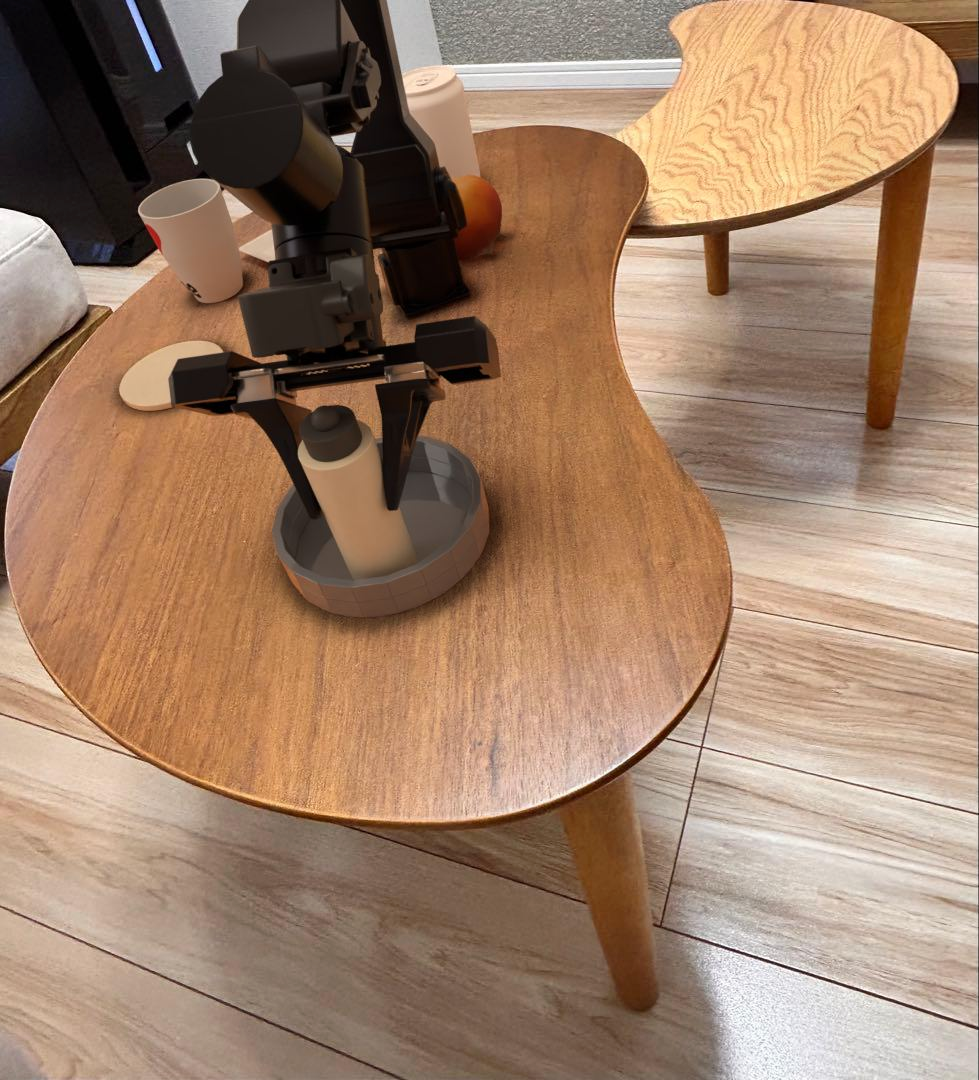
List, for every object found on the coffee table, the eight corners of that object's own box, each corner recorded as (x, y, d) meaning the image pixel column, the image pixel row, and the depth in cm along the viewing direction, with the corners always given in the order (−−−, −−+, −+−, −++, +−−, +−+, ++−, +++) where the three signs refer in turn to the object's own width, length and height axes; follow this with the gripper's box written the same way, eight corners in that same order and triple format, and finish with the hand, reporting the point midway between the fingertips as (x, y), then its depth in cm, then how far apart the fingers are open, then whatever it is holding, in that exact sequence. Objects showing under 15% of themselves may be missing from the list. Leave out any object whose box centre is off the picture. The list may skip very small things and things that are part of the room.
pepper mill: (408, 536, 59) (350, 374, 49) (426, 580, 56) (368, 416, 46) (347, 560, 58) (276, 401, 49) (361, 605, 55) (289, 445, 45)
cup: (189, 278, 94) (147, 189, 87) (261, 263, 93) (224, 171, 86) (176, 318, 88) (130, 225, 81) (253, 302, 87) (213, 207, 80)
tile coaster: (220, 333, 84) (218, 328, 84) (233, 386, 77) (230, 381, 77) (120, 368, 83) (117, 362, 83) (124, 424, 76) (120, 419, 76)
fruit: (516, 251, 82) (460, 184, 78) (457, 293, 86) (401, 232, 83) (530, 210, 87) (478, 146, 83) (473, 252, 92) (422, 193, 88)
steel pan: (454, 447, 66) (444, 411, 63) (520, 571, 56) (512, 534, 53) (276, 513, 64) (258, 478, 62) (311, 653, 54) (292, 618, 52)
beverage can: (400, 210, 96) (370, 97, 87) (428, 176, 101) (402, 66, 92) (467, 209, 93) (442, 92, 85) (492, 175, 98) (471, 61, 89)
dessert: (323, 209, 100) (310, 168, 96) (390, 231, 93) (378, 187, 89) (240, 258, 95) (223, 217, 91) (304, 285, 88) (287, 241, 85)
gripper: (98, 233, 44) (133, 536, 45) (454, 172, 42) (489, 495, 42) (200, 288, 55) (228, 530, 56) (487, 242, 53) (515, 498, 53)
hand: (353, 515), depth 51 cm, fingers closed on pepper mill, 4 cm apart
